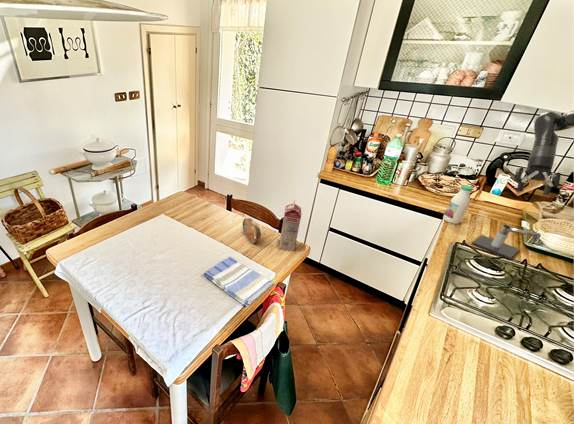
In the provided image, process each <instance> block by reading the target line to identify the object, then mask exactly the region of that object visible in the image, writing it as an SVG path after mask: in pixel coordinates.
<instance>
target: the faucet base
mask: <svg viewBox="0 0 574 424" xmlns="http://www.w3.org/2000/svg"><path fill="white" fill-rule="evenodd" d="M508 236H509V234H508V235H503V234H501V233H499V230H498V231H497V232H496V234H495V236H494V238H492V237H489V236H486V235H484V234H481V235H480V236H478V238H476V239H475V240H474V241H472V242H471V245H472V246H474V247H476V248H480V249H482V250H485V251H487V252H489V253H492V254H494V255H497V256H499V257H502V258H504V257H505V259H507V258H508V259H507V260H509V259H510V260H511V259H512V258H513V257H514V256H515V255H516V254H517V253H518V252H519V251H520V248H518V247H515V246H514V245H510V244H508V243H506V242H505V241H506V240H507V238H508Z"/></svg>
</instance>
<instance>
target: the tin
mask: <svg viewBox="0 0 574 424" xmlns="http://www.w3.org/2000/svg"><path fill="white" fill-rule="evenodd" d="M242 231H243V234H244V235H245V236H246V238H247V239H248V240H249V241H250V243H252V244H256V243H259V242H260V240H261V236H262V231H261V228H260V227H259V225H258V224H257V223H256V222H255V221H254V220H253V219H252V218H249V217H247V218H244V219H243V220H242Z"/></svg>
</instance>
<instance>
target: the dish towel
mask: <svg viewBox="0 0 574 424" xmlns="http://www.w3.org/2000/svg"><path fill="white" fill-rule="evenodd" d="M203 276H204V277H205V278H207V279H208V280H210V281H211V282H212V283H213V284H215V285H216V286H217V287H219V288H220V289H221V290H223V291H224V292H225V293H226V294H227V295H229V296H230V297H231V298H233V299H235V300H236V301H238V302H239V303H240V304H242V305H244V307H246V308H248V307H251V306H252V305H253V304H255V303H256V302H257V301H258V300H260V299H261V298H262V297H263V296H264V295H265V294H267V293H268V292H269V291H270V290H271V289H273V288H274V286H275V285H276V284H275V282H274V281H273V280H271V279H269V278H268V277H266V276H264V275H262V274H260V273H259V272H258V271H255V270H254V269H252V268H250V267H248V266H247V265H245V264H243V263H240V262H239V261H238V260H236V259H235V258H233V257H232V256H229V257H227V258H225V259H224V260H221V261H220V262H219V263H217V264H216V265H215V266H213V267H211V268H209V269H208V270H206V271H205V272H204V273H203Z"/></svg>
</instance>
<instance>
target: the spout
mask: <svg viewBox="0 0 574 424" xmlns="http://www.w3.org/2000/svg"><path fill="white" fill-rule="evenodd" d="M498 231H499V233H501V234H503V235H508V236H509V234H510V233H515V234H520V235H525V236H531V237H532V238H531V241H533V242H536V243H537V242H538V241H539V240H540V238H541V237H542V234H541V233H540V232H535V231H530V230H525V229H520V228H514V227H511V226H510V225H507V224H504V225H501V227H500V228H499V230H498Z"/></svg>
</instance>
